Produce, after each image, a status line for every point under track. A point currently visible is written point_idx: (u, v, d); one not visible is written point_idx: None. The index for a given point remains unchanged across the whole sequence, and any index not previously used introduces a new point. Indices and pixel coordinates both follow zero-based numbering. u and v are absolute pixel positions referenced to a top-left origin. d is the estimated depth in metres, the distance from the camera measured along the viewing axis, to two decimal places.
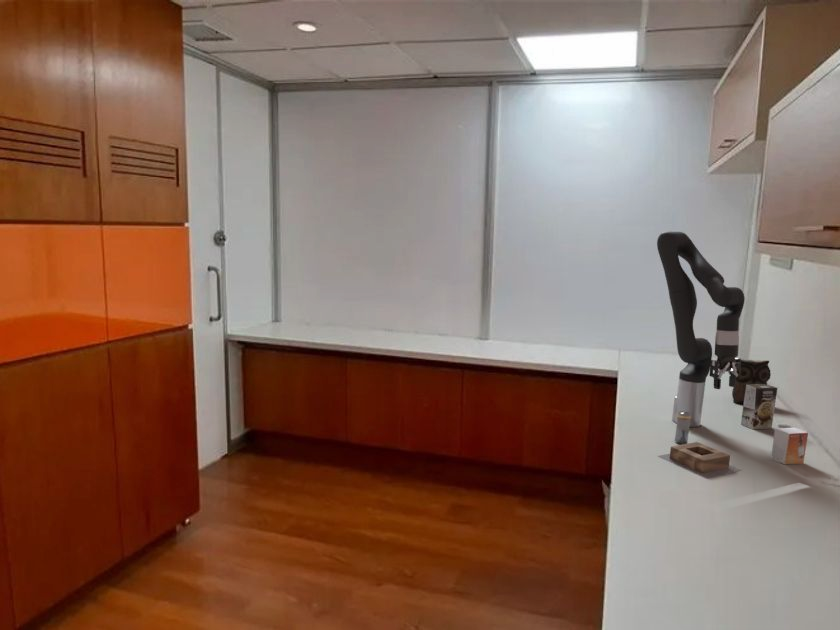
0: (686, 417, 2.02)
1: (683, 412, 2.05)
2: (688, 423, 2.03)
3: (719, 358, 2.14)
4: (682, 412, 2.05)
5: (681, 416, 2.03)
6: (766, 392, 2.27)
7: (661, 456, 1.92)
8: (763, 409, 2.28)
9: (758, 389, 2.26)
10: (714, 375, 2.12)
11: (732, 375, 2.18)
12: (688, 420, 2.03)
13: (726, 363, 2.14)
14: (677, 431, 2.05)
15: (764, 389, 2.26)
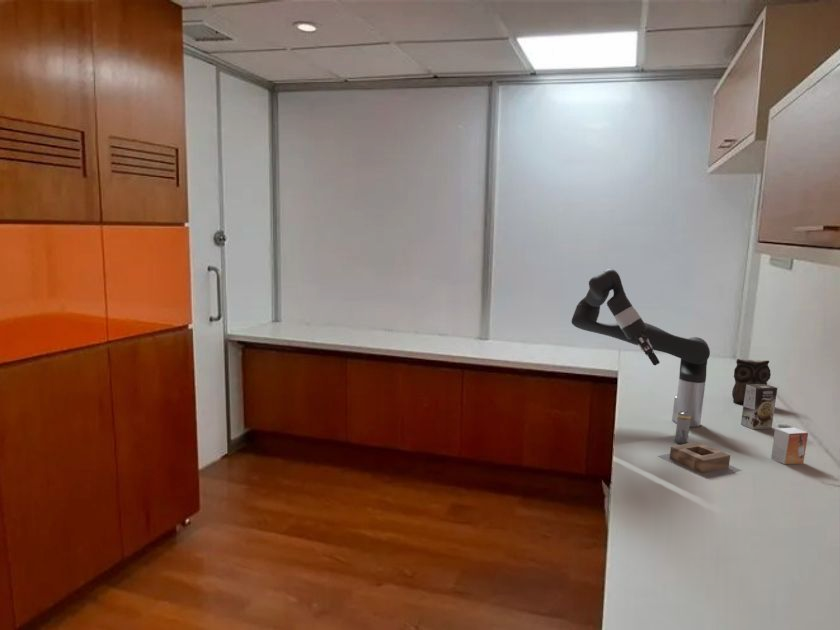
0: (686, 417, 2.02)
1: (683, 412, 2.05)
2: (688, 423, 2.03)
3: (639, 336, 2.03)
4: (682, 412, 2.05)
5: (681, 416, 2.03)
6: (766, 392, 2.27)
7: (661, 456, 1.92)
8: (763, 409, 2.28)
9: (758, 389, 2.26)
10: (650, 350, 1.99)
11: None
12: (688, 420, 2.03)
13: (646, 338, 2.04)
14: (677, 431, 2.05)
15: (764, 389, 2.26)
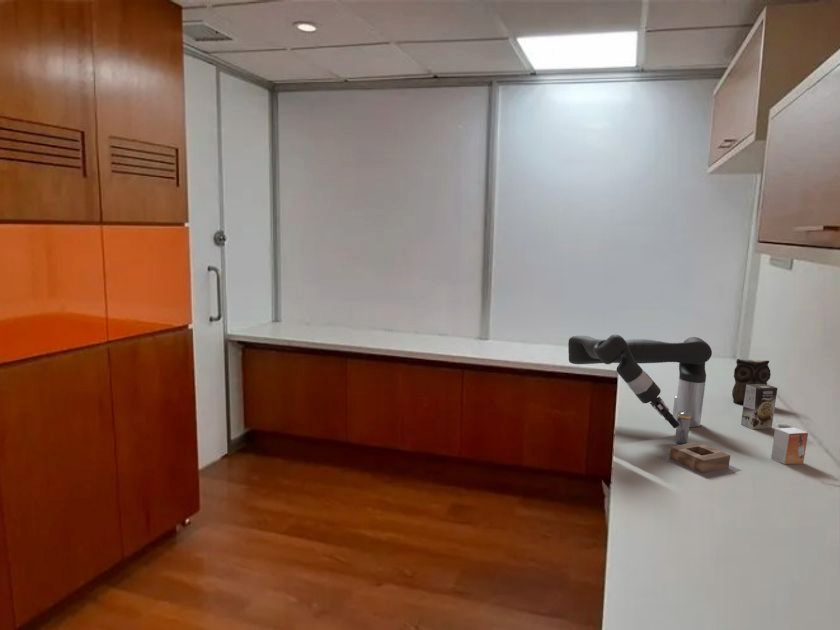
0: (686, 417, 2.02)
1: (683, 412, 2.05)
2: (688, 423, 2.03)
3: (655, 401, 2.00)
4: (682, 412, 2.05)
5: (681, 416, 2.03)
6: (766, 392, 2.27)
7: (661, 456, 1.92)
8: (763, 409, 2.28)
9: (758, 389, 2.26)
10: (671, 416, 1.97)
11: None
12: (688, 420, 2.03)
13: (661, 400, 2.02)
14: (677, 431, 2.05)
15: (764, 389, 2.26)
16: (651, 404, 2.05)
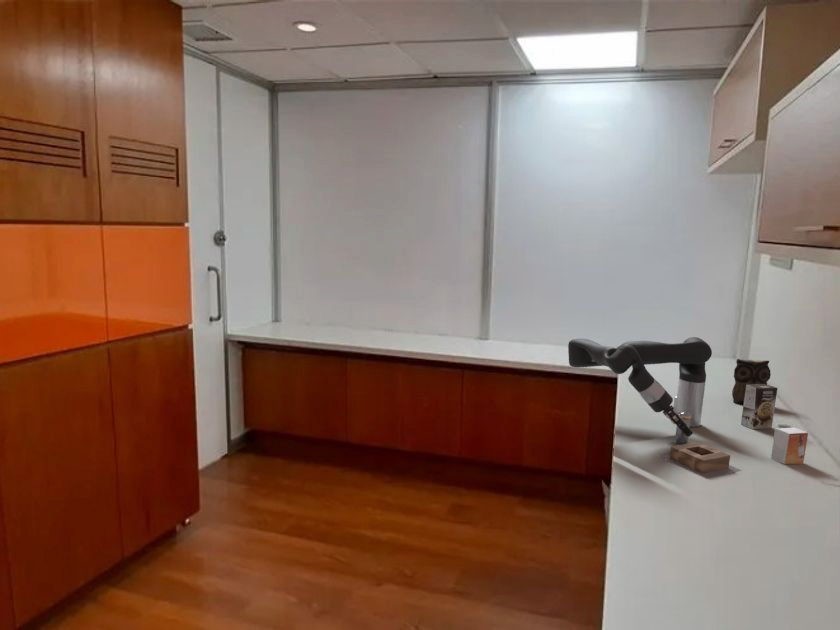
0: (686, 417, 2.02)
1: (683, 412, 2.05)
2: (688, 423, 2.03)
3: (668, 410, 2.01)
4: (682, 412, 2.05)
5: (681, 416, 2.03)
6: (766, 392, 2.27)
7: (661, 456, 1.92)
8: (763, 409, 2.28)
9: (758, 389, 2.26)
10: (684, 425, 2.00)
11: None
12: (688, 420, 2.03)
13: (674, 410, 2.03)
14: (677, 431, 2.05)
15: (764, 389, 2.26)
16: (663, 412, 2.06)
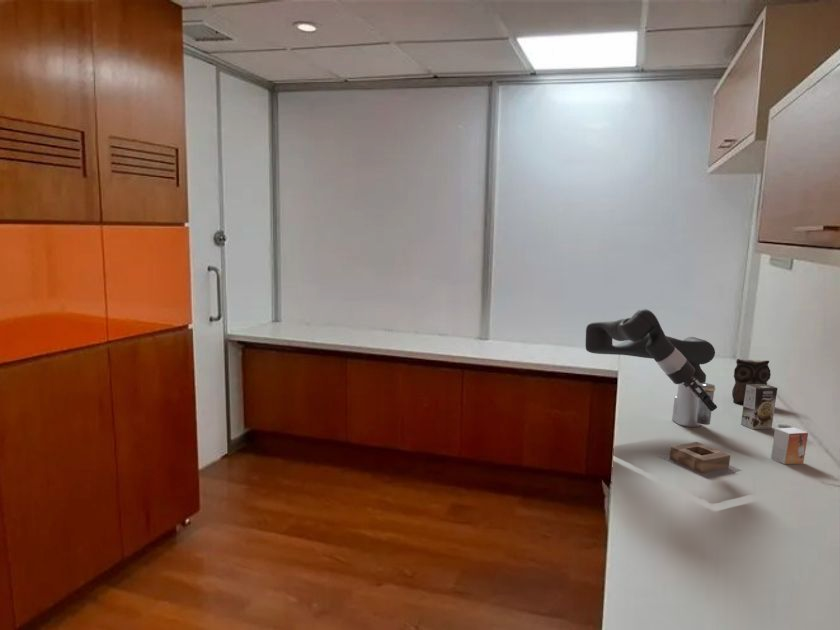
0: (710, 389, 1.82)
1: (706, 384, 1.85)
2: (712, 396, 1.83)
3: (690, 381, 1.81)
4: (705, 384, 1.85)
5: (704, 388, 1.83)
6: (766, 392, 2.27)
7: (661, 456, 1.92)
8: (763, 409, 2.28)
9: (758, 389, 2.26)
10: (708, 397, 1.80)
11: None
12: (712, 393, 1.83)
13: (696, 381, 1.83)
14: (699, 405, 1.85)
15: (764, 389, 2.26)
16: (684, 385, 1.86)
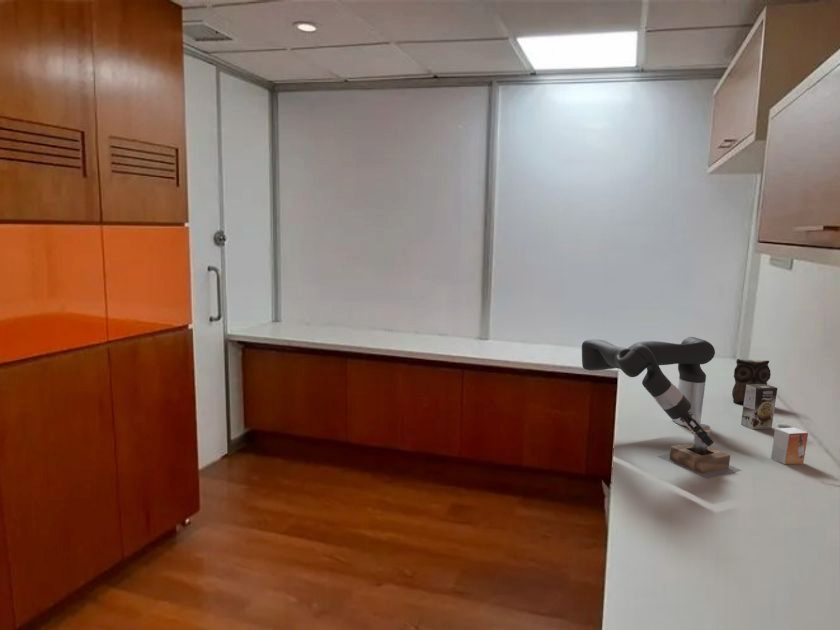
0: None
1: None
2: None
3: (686, 416, 1.83)
4: None
5: None
6: (766, 392, 2.27)
7: (661, 456, 1.92)
8: (763, 409, 2.28)
9: (758, 389, 2.26)
10: (704, 433, 1.80)
11: None
12: (707, 434, 1.85)
13: (692, 416, 1.84)
14: (695, 446, 1.87)
15: (764, 389, 2.26)
16: (681, 420, 1.88)
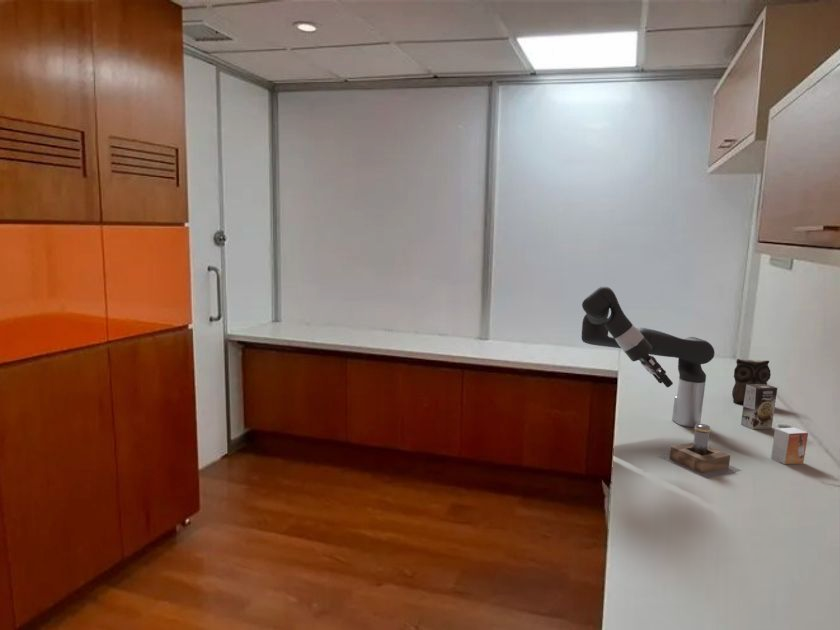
0: (705, 430, 1.84)
1: (701, 425, 1.87)
2: (707, 437, 1.85)
3: (646, 357, 1.85)
4: (700, 425, 1.87)
5: (699, 429, 1.85)
6: (766, 392, 2.27)
7: (661, 456, 1.92)
8: (763, 409, 2.28)
9: (758, 389, 2.26)
10: (663, 372, 1.81)
11: None
12: (707, 434, 1.85)
13: (652, 358, 1.86)
14: (695, 446, 1.87)
15: (764, 389, 2.26)
16: (642, 363, 1.89)
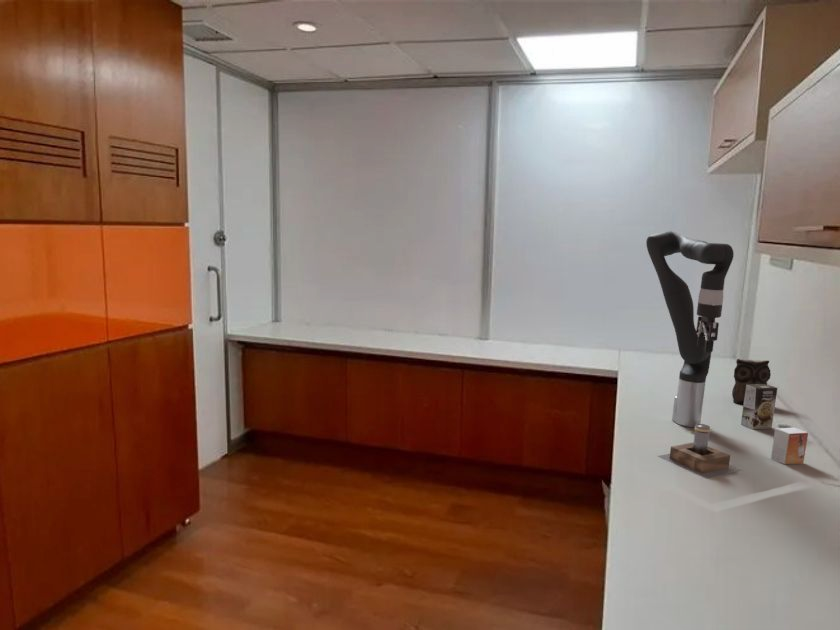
0: (705, 431, 1.84)
1: (701, 425, 1.87)
2: (707, 437, 1.85)
3: (712, 319, 2.01)
4: (700, 425, 1.87)
5: (699, 430, 1.85)
6: (766, 392, 2.27)
7: (661, 456, 1.92)
8: (763, 409, 2.28)
9: (758, 389, 2.26)
10: (715, 338, 1.99)
11: (702, 335, 2.10)
12: (707, 434, 1.85)
13: None
14: (695, 446, 1.87)
15: (764, 389, 2.26)
16: (701, 322, 2.06)
